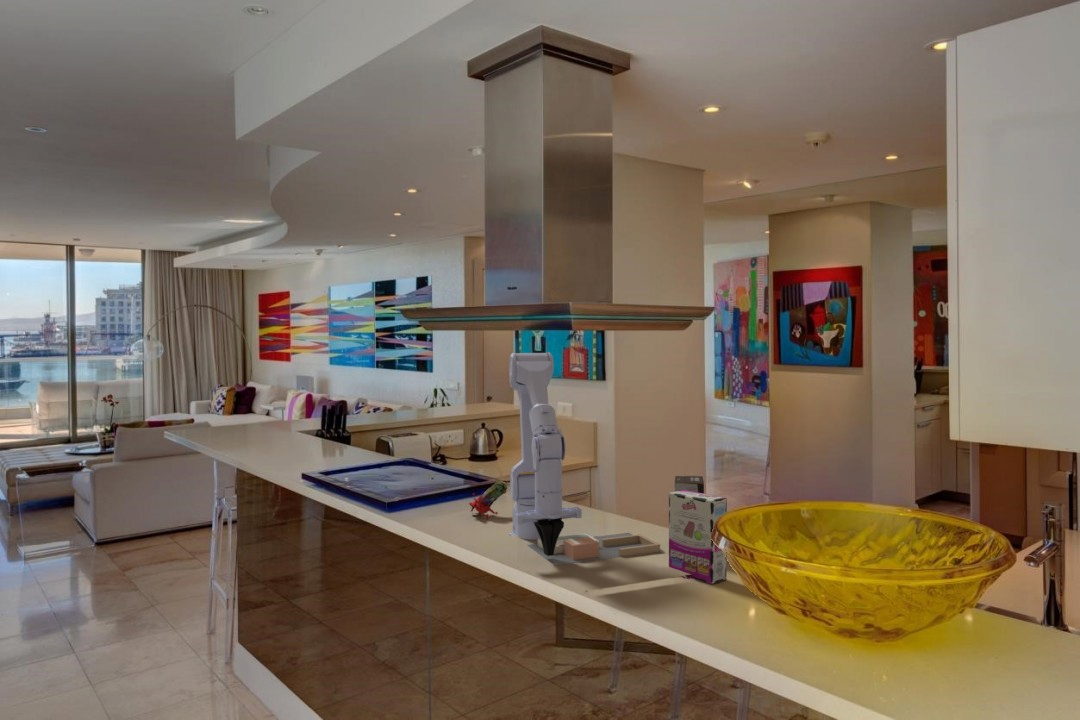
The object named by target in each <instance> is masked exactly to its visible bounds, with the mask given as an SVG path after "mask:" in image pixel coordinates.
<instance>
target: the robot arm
mask: <svg viewBox="0 0 1080 720" xmlns="http://www.w3.org/2000/svg"><path fill="white" fill-rule="evenodd" d="M554 366H555V365H554V357H553V355H552V353H551V352H550V351H549V352H523V353H522V352H521V353H519V352H518V353H517V352H512V353H511V354H510V355H509V359H508V374H509V375H508V377H509V379H508V380H509V384H510V388H511V389H512V390H514V391H517V395H518V403H519V422H520V423H519V424H520V426H519V427H520V449H521V450H520V451H521V452H520V453H521V460H519V461H518V462H517V463H516V464H515V465H513V467H511V470H510V479H509V492H510V493H509V494H510V498H511V500H512V501H514V502H515V503H514V504H513V507H512V514H511V515H512V532H509V533H508V535H509V536H510V537H513V536H516V537H518V538H519V539H521V540H522V539H523V540H530V541H533V540H534V541H535V540H538V539H541V542H542V545H543V550H544V554H545V555H547V556H551V555H554V550H555V546H556V542H557V539H558V537H559V536H560V534H561V532H562V531H563V529H564V527H565V521H563V520H565V519H575V518H576V519H582V510H583V509H582V508H580V507H579V506H575V507H571V506H570V507H563V462H562V461H564V460H565V457H566V440H565V436H564V433H563V432H562V429H560V428H559V426H558V425H559V424H558V420H557V415H556V409H555V408H554V407H553V406H552V405H550V404H549V395H548V394H549V392H548V388H549V387H548V386H549V384H550V382H551V379H552V378H553V374H554V368H555V367H554ZM530 472H531V473H530ZM533 472H534V473H533ZM521 473H523V474H521ZM524 473H525V474H524Z"/></svg>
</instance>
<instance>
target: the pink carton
mask: <svg viewBox="0 0 1080 720" xmlns="http://www.w3.org/2000/svg"><path fill="white" fill-rule="evenodd" d="M563 542H564V554H565V555H567V556H568V557H570V558H571V559H573V560H576V559H583V558H591V557H599V542H597V541H595V540H593V539H592V538H590V537H581V538H573V539H564V540H563Z"/></svg>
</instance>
